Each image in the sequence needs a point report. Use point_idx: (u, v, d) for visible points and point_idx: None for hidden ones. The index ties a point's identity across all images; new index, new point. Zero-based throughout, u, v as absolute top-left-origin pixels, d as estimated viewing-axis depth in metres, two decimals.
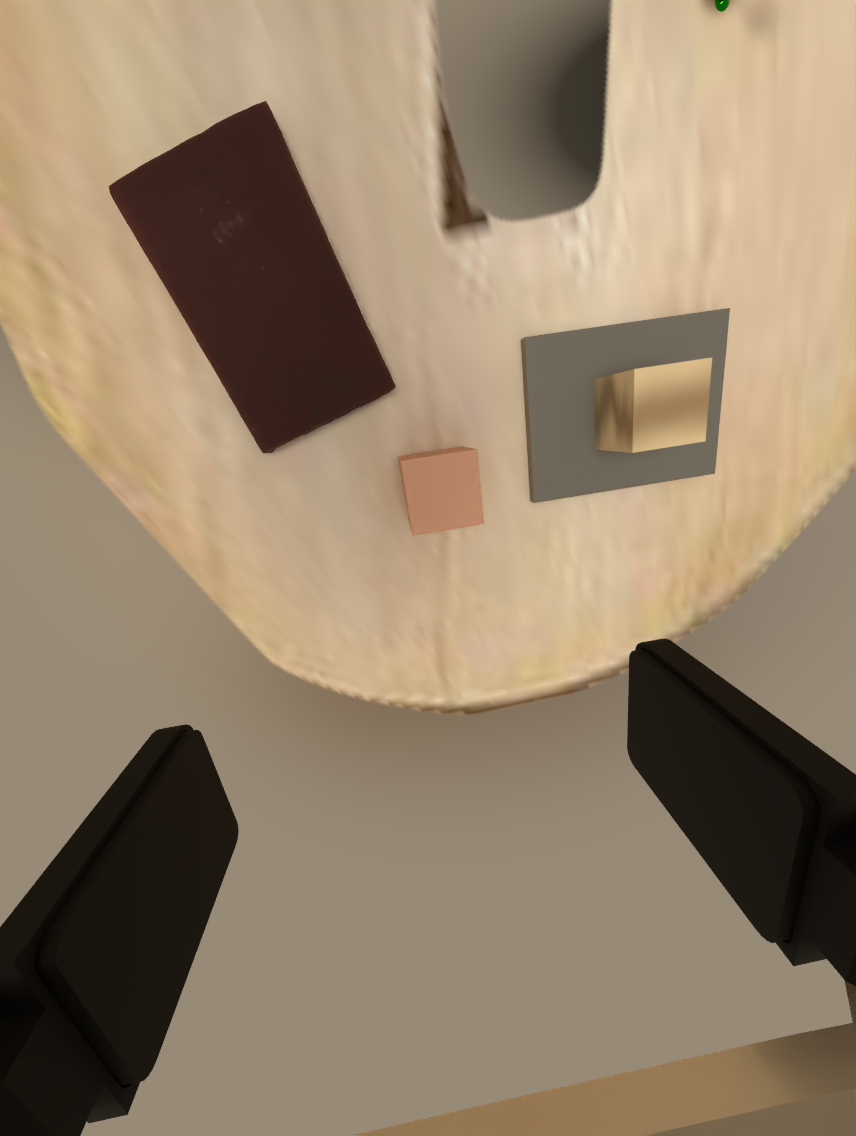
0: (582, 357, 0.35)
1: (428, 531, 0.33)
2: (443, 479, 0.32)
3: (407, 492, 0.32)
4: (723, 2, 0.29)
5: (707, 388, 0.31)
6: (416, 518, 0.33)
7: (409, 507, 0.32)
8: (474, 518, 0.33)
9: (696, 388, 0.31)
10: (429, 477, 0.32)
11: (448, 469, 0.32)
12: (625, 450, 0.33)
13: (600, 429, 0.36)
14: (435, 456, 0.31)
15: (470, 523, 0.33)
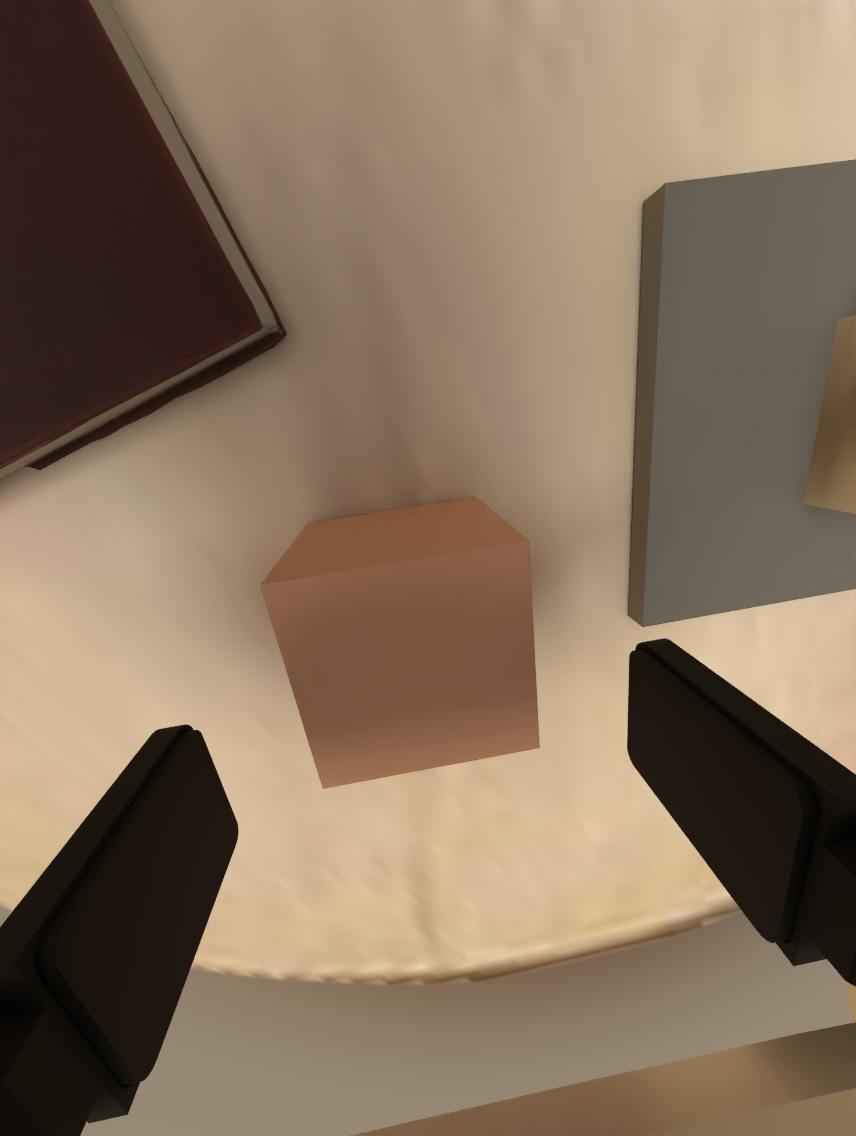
0: (818, 252, 0.12)
1: (371, 775, 0.11)
2: (415, 638, 0.10)
3: (295, 678, 0.10)
4: None
5: None
6: (332, 746, 0.10)
7: (305, 719, 0.10)
8: (511, 735, 0.11)
9: None
10: (368, 631, 0.09)
11: (431, 606, 0.09)
12: None
13: (842, 456, 0.13)
14: (385, 567, 0.09)
15: (499, 749, 0.11)
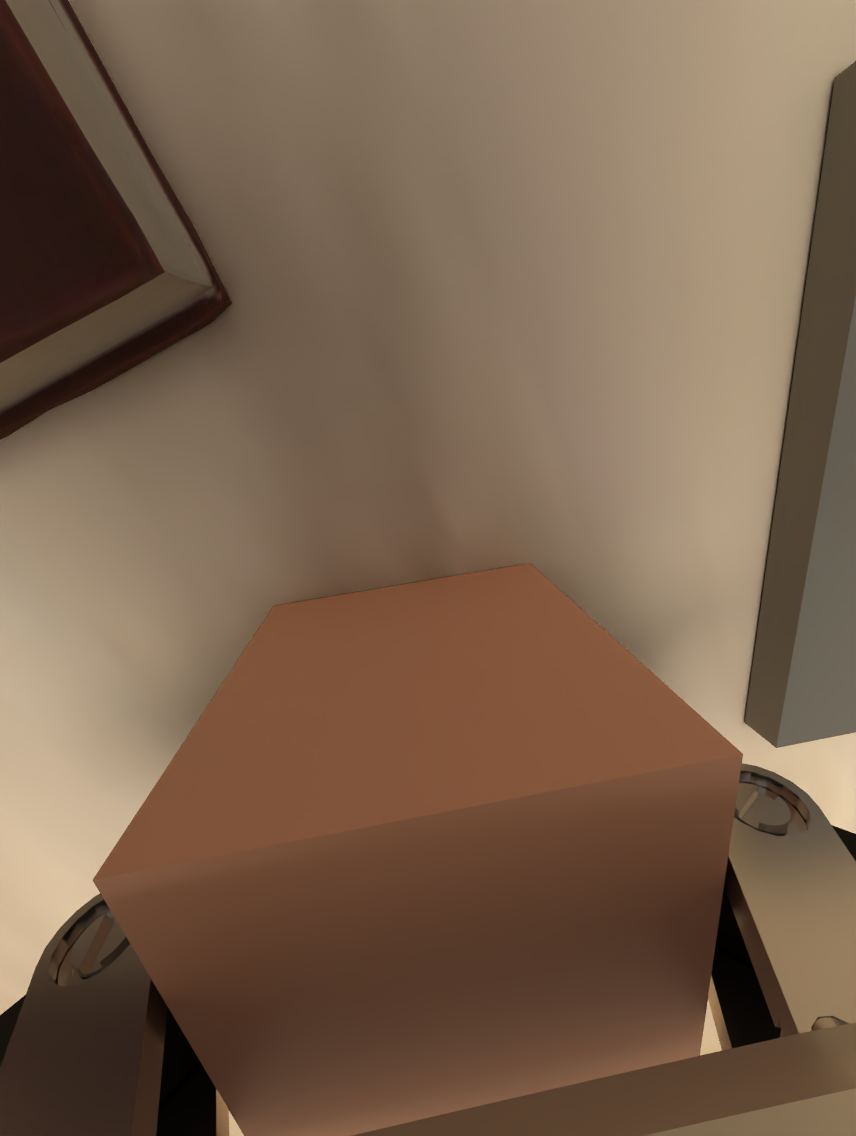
0: None
1: None
2: (468, 946, 0.04)
3: (198, 1037, 0.04)
4: None
5: None
6: (289, 1126, 0.05)
7: (229, 1095, 0.05)
8: None
9: None
10: (361, 943, 0.04)
11: (505, 889, 0.04)
12: None
13: None
14: (401, 823, 0.04)
15: None
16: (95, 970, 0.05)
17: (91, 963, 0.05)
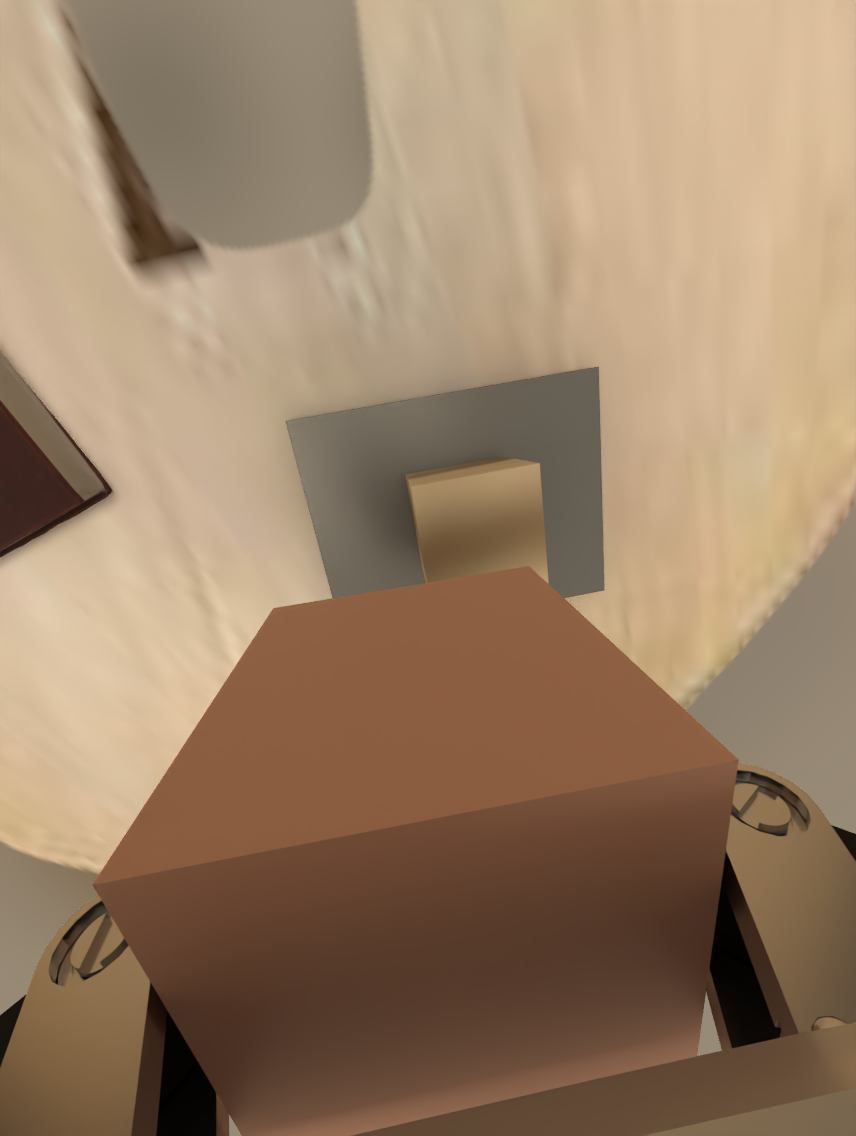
0: (381, 445, 0.23)
1: None
2: (466, 950, 0.04)
3: (198, 1040, 0.04)
4: None
5: (539, 508, 0.19)
6: (287, 1128, 0.05)
7: (228, 1098, 0.05)
8: None
9: (520, 509, 0.19)
10: (360, 947, 0.04)
11: (502, 894, 0.04)
12: None
13: (418, 546, 0.24)
14: (399, 828, 0.04)
15: None
16: (95, 971, 0.05)
17: (91, 963, 0.05)
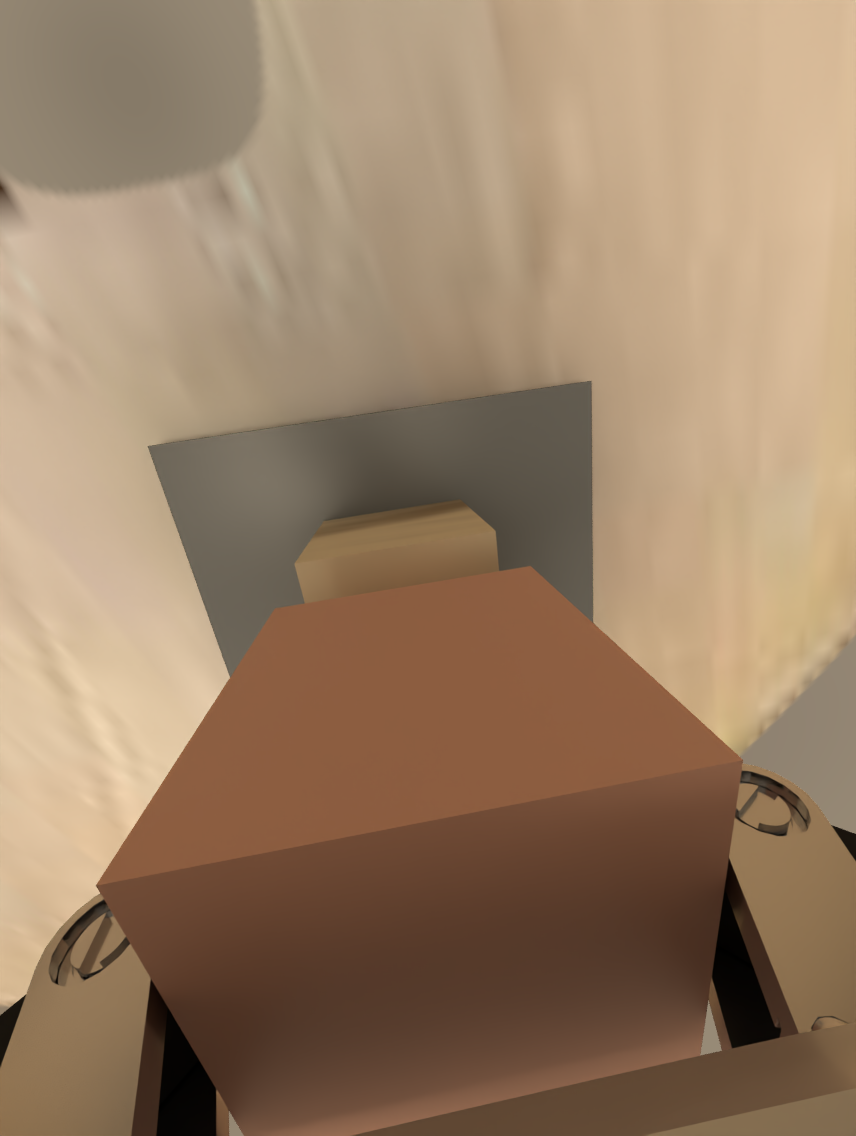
0: (288, 481, 0.17)
1: None
2: (469, 951, 0.04)
3: (201, 1040, 0.04)
4: None
5: None
6: (290, 1129, 0.05)
7: (231, 1098, 0.05)
8: None
9: None
10: (363, 948, 0.04)
11: (506, 893, 0.04)
12: None
13: None
14: (403, 828, 0.04)
15: None
16: (94, 971, 0.05)
17: (91, 963, 0.05)
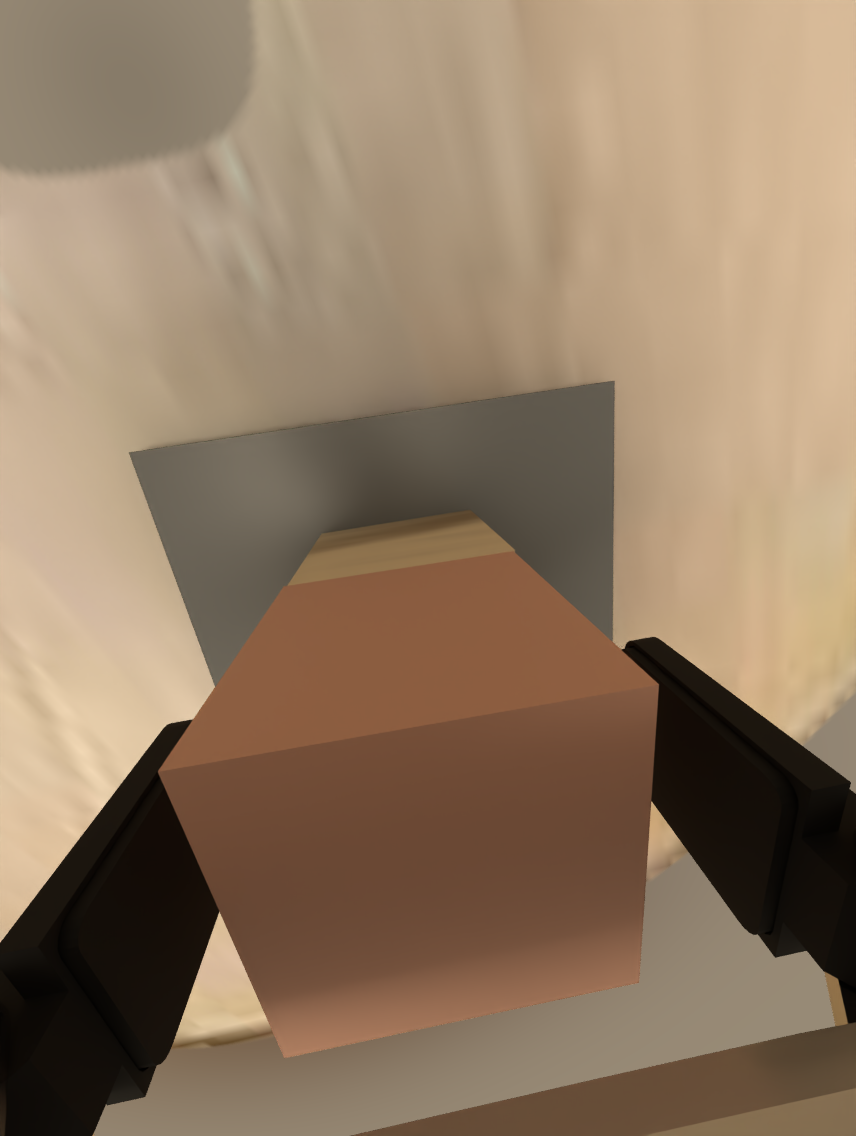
0: (283, 490, 0.15)
1: (365, 1035, 0.07)
2: (445, 842, 0.05)
3: (230, 913, 0.05)
4: None
5: None
6: (299, 1002, 0.06)
7: (252, 969, 0.06)
8: (597, 969, 0.07)
9: None
10: (362, 836, 0.05)
11: (476, 793, 0.05)
12: None
13: None
14: (394, 734, 0.05)
15: (574, 987, 0.07)
16: None
17: None
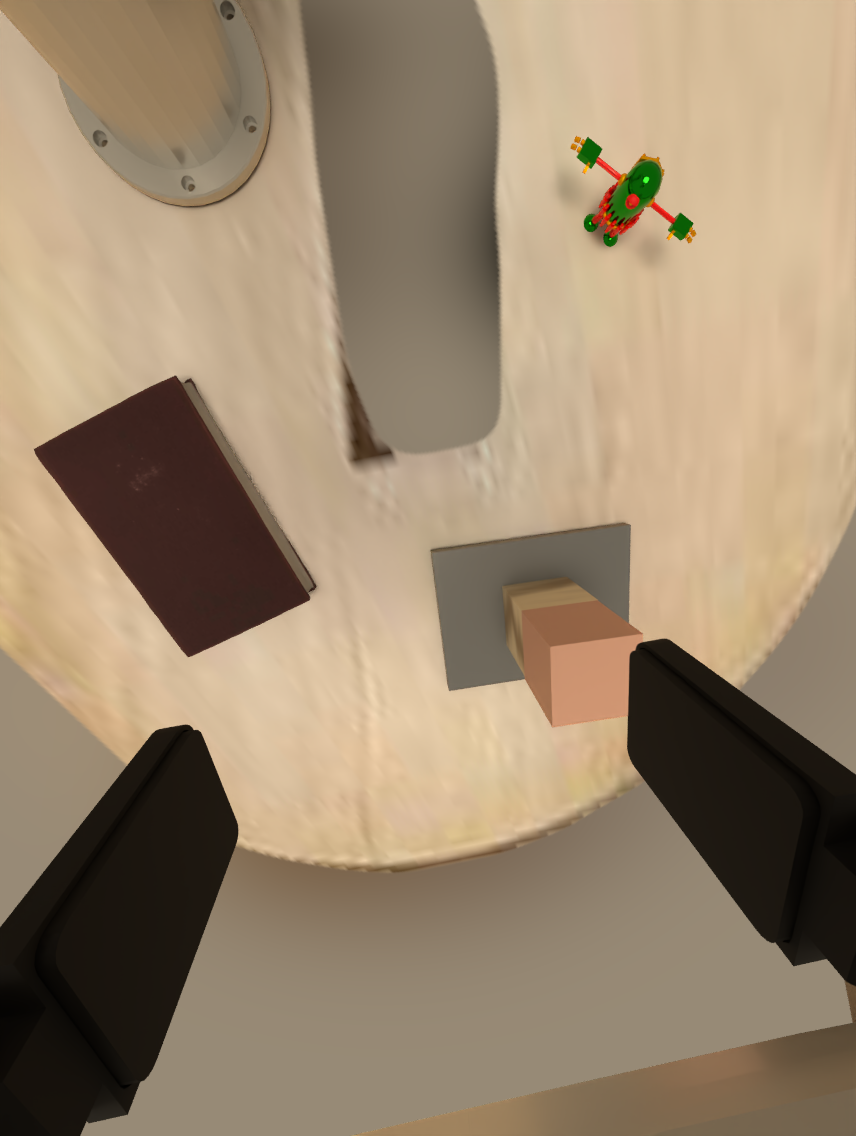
0: (489, 568, 0.36)
1: (571, 722, 0.27)
2: (598, 667, 0.26)
3: (553, 681, 0.26)
4: (611, 240, 0.30)
5: None
6: (560, 708, 0.27)
7: (553, 697, 0.26)
8: None
9: None
10: (582, 664, 0.26)
11: (605, 655, 0.26)
12: (522, 671, 0.34)
13: (508, 632, 0.37)
14: (592, 641, 0.25)
15: (623, 713, 0.27)
16: None
17: None
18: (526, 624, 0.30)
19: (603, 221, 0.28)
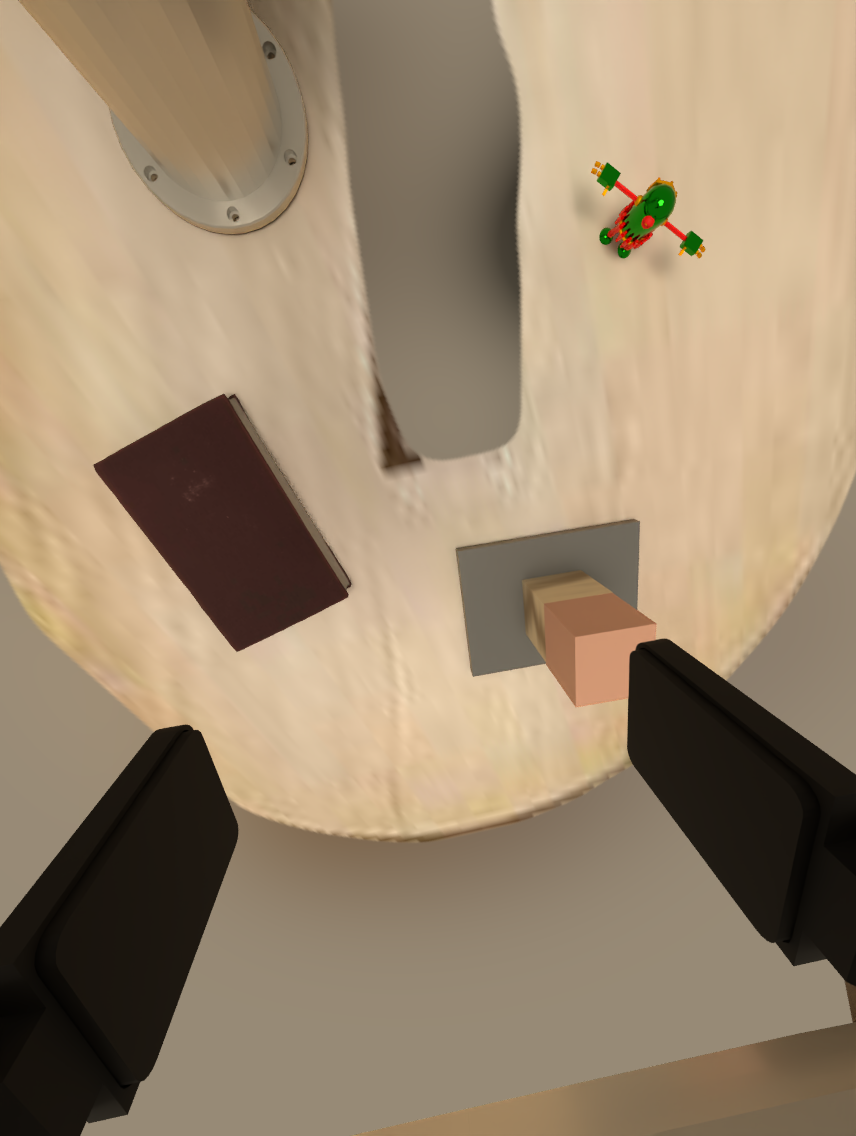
0: (510, 563, 0.39)
1: (593, 703, 0.31)
2: (617, 653, 0.29)
3: (577, 666, 0.29)
4: (625, 252, 0.33)
5: None
6: (582, 691, 0.30)
7: (577, 681, 0.30)
8: None
9: None
10: (603, 651, 0.29)
11: (623, 643, 0.29)
12: (543, 657, 0.37)
13: (527, 622, 0.40)
14: (612, 631, 0.29)
15: None
16: None
17: None
18: (549, 616, 0.33)
19: (619, 237, 0.30)
